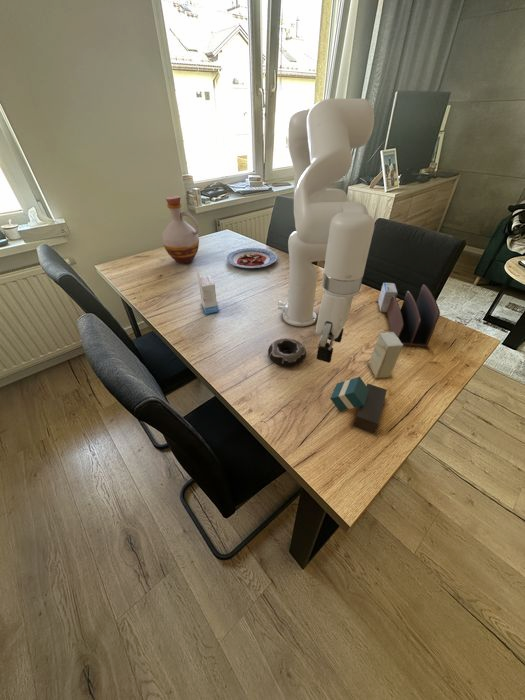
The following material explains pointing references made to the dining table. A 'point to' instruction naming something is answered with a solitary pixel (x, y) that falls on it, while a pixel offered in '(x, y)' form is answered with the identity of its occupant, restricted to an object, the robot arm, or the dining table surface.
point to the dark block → (371, 409)
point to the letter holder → (414, 318)
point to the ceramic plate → (251, 258)
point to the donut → (287, 359)
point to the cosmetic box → (385, 354)
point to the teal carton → (350, 394)
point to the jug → (180, 233)
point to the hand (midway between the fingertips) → (329, 349)
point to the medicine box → (386, 296)
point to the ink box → (207, 294)
